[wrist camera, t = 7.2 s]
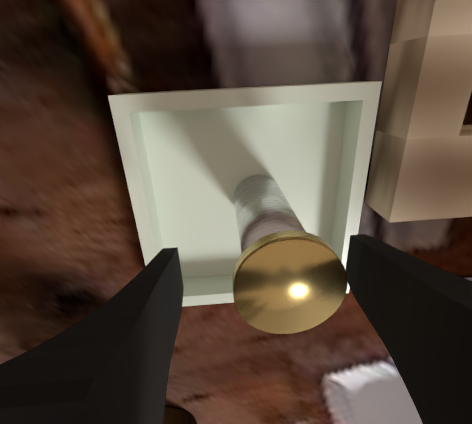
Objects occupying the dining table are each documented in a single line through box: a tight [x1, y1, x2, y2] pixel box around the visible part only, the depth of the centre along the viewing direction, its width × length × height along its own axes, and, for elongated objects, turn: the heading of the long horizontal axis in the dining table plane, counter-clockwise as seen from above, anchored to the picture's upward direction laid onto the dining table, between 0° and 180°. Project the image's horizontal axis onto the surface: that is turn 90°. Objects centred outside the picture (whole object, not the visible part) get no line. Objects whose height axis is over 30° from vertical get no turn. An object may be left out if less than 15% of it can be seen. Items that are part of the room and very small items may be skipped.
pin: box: [232, 175, 348, 334], centre depth 14 cm, size 4×4×9 cm
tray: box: [108, 81, 382, 306], centre depth 17 cm, size 13×13×2 cm
